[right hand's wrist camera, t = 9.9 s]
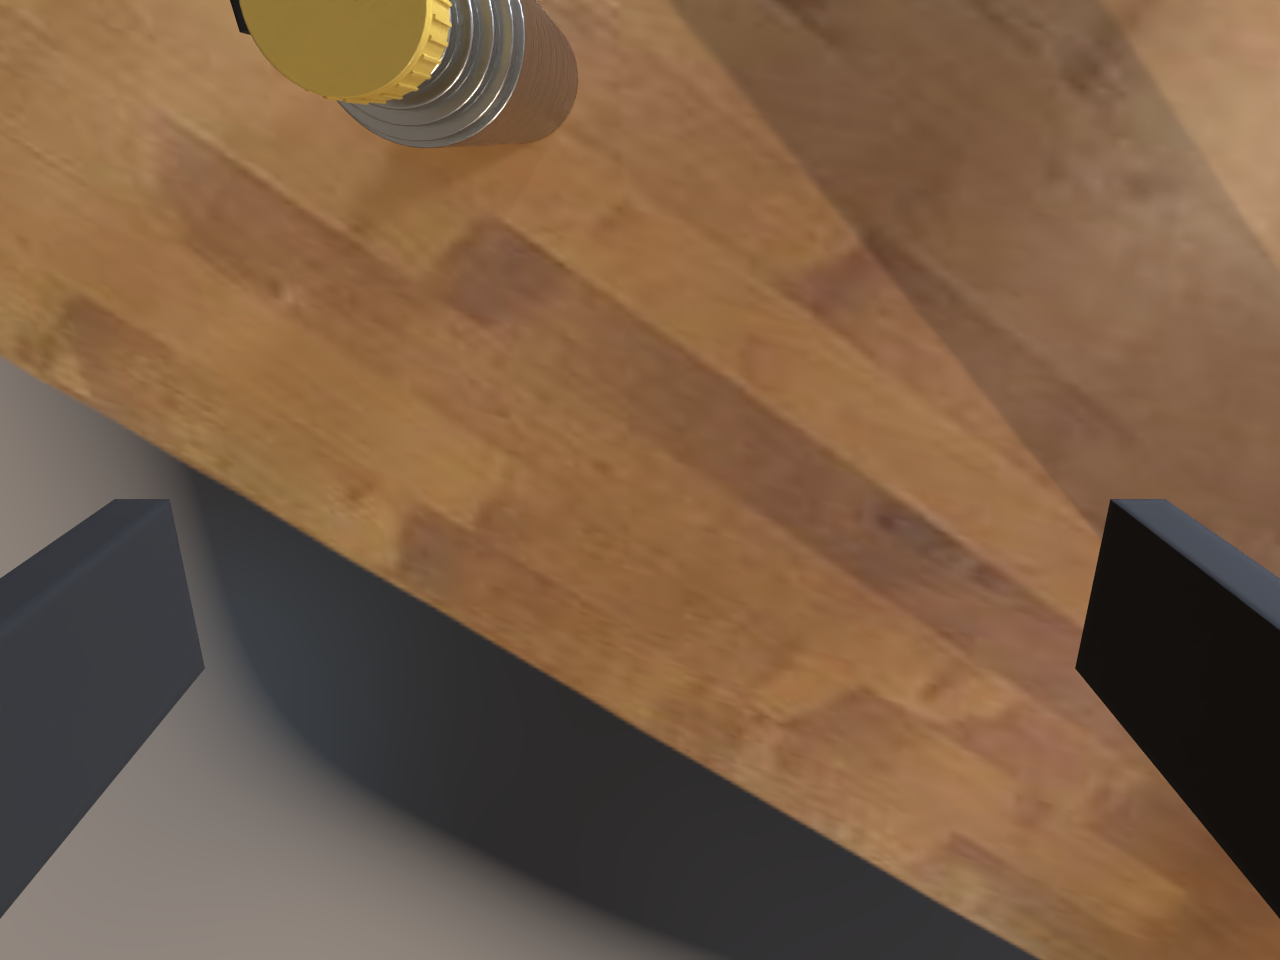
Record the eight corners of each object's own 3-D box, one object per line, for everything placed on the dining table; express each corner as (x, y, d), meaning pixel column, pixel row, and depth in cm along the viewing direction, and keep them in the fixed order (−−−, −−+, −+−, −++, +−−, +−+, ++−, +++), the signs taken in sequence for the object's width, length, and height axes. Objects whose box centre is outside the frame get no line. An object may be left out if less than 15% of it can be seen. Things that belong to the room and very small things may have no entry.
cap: (242, 21, 19) (196, 8, 17) (339, -139, 18) (301, -172, 16) (388, 142, 20) (360, 142, 18) (488, -4, 19) (469, -20, 17)
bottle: (429, 85, 41) (140, 18, 18) (503, -22, 39) (292, -254, 16) (527, 169, 42) (378, 209, 19) (603, 68, 41) (541, -24, 17)
